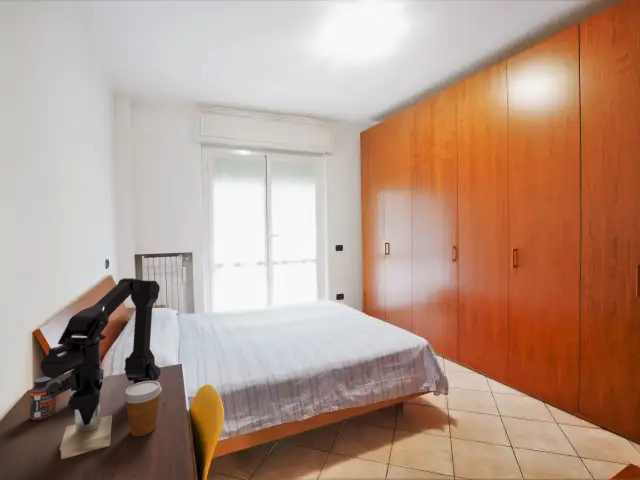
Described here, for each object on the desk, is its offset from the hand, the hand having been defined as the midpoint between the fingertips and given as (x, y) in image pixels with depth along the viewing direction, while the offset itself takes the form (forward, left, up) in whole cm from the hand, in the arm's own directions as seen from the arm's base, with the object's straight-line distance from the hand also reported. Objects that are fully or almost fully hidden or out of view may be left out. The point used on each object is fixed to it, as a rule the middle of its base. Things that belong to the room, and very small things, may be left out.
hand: (88, 418), depth 85 cm
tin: (0, 0, -2) cm, 2 cm away
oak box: (0, 0, -6) cm, 6 cm away
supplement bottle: (+13, -22, -6) cm, 26 cm away
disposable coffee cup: (-13, +2, -6) cm, 14 cm away
